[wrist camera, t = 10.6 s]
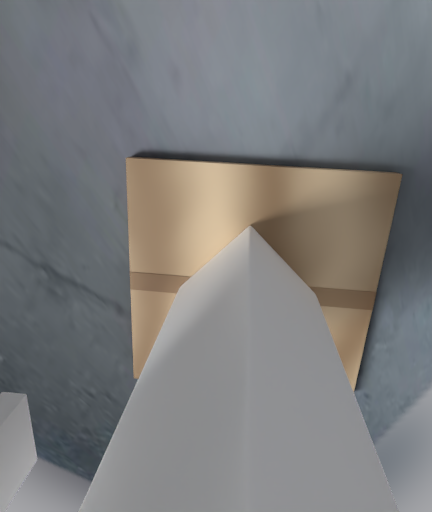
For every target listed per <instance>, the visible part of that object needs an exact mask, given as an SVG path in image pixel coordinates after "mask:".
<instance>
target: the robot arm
mask: <svg viewBox="0 0 432 512" xmlns="http://www.w3.org/2000/svg"><path fill="white" fill-rule="evenodd" d="M36 461H37V454H36V449H35V443H34V437H33V431H32V425H31V419H30V413H29V407H28V402H27V396H26V394H19V393H9V392H2V393H1V394H0V512H5V511H6V510H7V508H8V506H9V505H10V503H11V502H12V500H13V498H14V497H15V495H16V494H17V492H18V490H19V489H20V487H21V485H22V484H23V482H24V481H25V479H26V477H27V476H28V474H29V473H30V471H31V469H32V468H33V466H34V464H35V463H36Z"/></svg>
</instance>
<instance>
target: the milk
mask: <svg viewBox="0 0 432 512" xmlns="http://www.w3.org/2000/svg"><path fill="white" fill-rule="evenodd" d="M79 512H399V510H398V507H397V505H396V502H395V499H394V497H393V494H392V491H391V489H390V486H389V484H388V481H387V478H386V476H385V473H384V471H383V468H382V465H381V463H380V460H379V458H378V455H377V452H376V450H375V447H374V445H373V442H372V439H371V437H370V434H369V431H368V429H367V426H366V424H365V421H364V418H363V416H362V413H361V411H360V408H359V405H358V403H357V400H356V398H355V395H354V392H353V390H352V387H351V385H350V382H349V379H348V377H347V374H346V372H345V369H344V366H343V364H342V361H341V359H340V356H339V353H338V351H337V348H336V346H335V343H334V340H333V338H332V335H331V333H330V330H329V327H328V325H327V322H326V320H325V317H324V314H323V312H322V309H321V307H320V304H319V301H318V299H317V296H316V294H315V293H314V292H313V291H312V290H311V289H310V288H309V287H308V286H307V284H306V283H305V282H304V281H303V280H302V279H301V278H300V277H299V276H298V275H297V274H296V273H295V272H294V271H293V270H292V269H291V268H290V266H289V265H288V264H287V263H286V262H285V261H284V260H283V259H282V258H281V257H280V256H279V255H278V254H277V253H276V252H275V251H274V250H273V248H272V247H271V246H270V245H269V244H268V243H267V242H266V241H265V240H264V239H263V238H262V237H261V236H260V235H259V234H258V233H257V231H256V230H255V229H254V228H253V227H252V226H248V227H247V228H246V229H245V230H244V231H243V232H242V233H240V234H239V235H238V236H237V237H236V238H235V239H234V240H232V241H231V242H230V243H229V244H228V245H227V246H226V247H225V248H223V249H222V250H221V251H220V252H219V253H218V254H217V255H215V256H214V257H213V258H212V259H211V260H210V261H209V262H208V263H206V264H205V265H204V266H203V267H202V268H201V269H200V270H198V271H197V272H196V273H195V274H194V275H193V276H192V277H191V278H189V279H188V280H187V281H186V282H185V283H184V284H183V285H182V286H181V287H180V288H179V290H178V292H177V294H176V297H175V299H174V301H173V303H172V306H171V308H170V310H169V312H168V314H167V317H166V319H165V321H164V323H163V326H162V328H161V330H160V332H159V334H158V337H157V339H156V341H155V343H154V346H153V348H152V350H151V352H150V354H149V357H148V359H147V361H146V363H145V365H144V368H143V370H142V372H141V374H140V377H139V379H138V381H137V383H136V385H135V388H134V390H133V392H132V394H131V397H130V399H129V401H128V403H127V405H126V408H125V410H124V412H123V414H122V416H121V419H120V421H119V423H118V425H117V428H116V430H115V432H114V434H113V436H112V439H111V441H110V443H109V445H108V448H107V450H106V452H105V454H104V456H103V459H102V461H101V463H100V465H99V467H98V470H97V472H96V474H95V476H94V479H93V481H92V483H91V485H90V487H89V490H88V492H87V494H86V496H85V499H84V501H83V503H82V505H81V507H80V510H79Z"/></svg>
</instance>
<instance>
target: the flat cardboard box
mask: <svg viewBox="0 0 432 512" xmlns="http://www.w3.org/2000/svg"><path fill="white" fill-rule="evenodd" d="M126 174H127V202H128V230H129V258H130V289H131V314H132V341H133V369H134V378H137V379H139V377H140V374H141V372H142V370H143V368H144V365H145V363H146V361H147V359H148V357H149V354H150V352H151V350H152V348H153V346H154V343H155V341H156V339H157V337H158V334H159V332H160V330H161V328H162V326H163V323H164V321H165V319H166V317H167V314H168V312H169V310H170V308H171V306H172V303H173V301H174V299H175V297H176V294H177V292H178V290H179V288H180V287H181V286H182V285H183V284H184V283H185V282H186V281H187V280H188V279H189V278H191V277H192V276H193V275H194V274H195V273H196V272H197V271H198V270H200V269H201V268H202V267H203V266H204V265H205V264H206V263H208V262H209V261H210V260H211V259H212V258H213V257H214V256H215V255H217V254H218V253H219V252H220V251H221V250H222V249H223V248H225V247H226V246H227V245H228V244H229V243H230V242H231V241H232V240H234V239H235V238H236V237H237V236H238V235H239V234H240V233H242V232H243V231H244V230H245V229H246V228H247V227H248V226H252V227H253V228H254V229H255V230H256V231H257V233H258V234H259V235H260V236H261V237H262V238H263V239H264V240H265V241H266V242H267V243H268V244H269V245H270V246H271V247H272V248H273V250H274V251H275V252H276V253H277V254H278V255H279V256H280V257H281V258H282V259H283V260H284V261H285V262H286V263H287V264H288V265H289V266H290V268H291V269H292V270H293V271H294V272H295V273H296V274H297V275H298V276H299V277H300V278H301V279H302V280H303V281H304V282H305V283H306V284H307V286H308V287H309V288H310V289H311V290H312V291H313V292H314V293H315V294H316V296H317V299H318V301H319V304H320V307H321V309H322V312H323V314H324V317H325V320H326V322H327V325H328V327H329V330H330V333H331V335H332V338H333V340H334V343H335V346H336V348H337V351H338V353H339V356H340V359H341V361H342V364H343V366H344V369H345V372H346V374H347V377H348V379H349V382H350V385H351V387H352V390H353V392H354V389H355V385H356V380H357V376H358V371H359V367H360V362H361V358H362V353H363V349H364V345H365V340H366V336H367V331H368V327H369V322H370V318H371V313H372V310H373V305H374V301H375V297H376V291H377V286H378V282H379V277H380V273H381V268H382V264H383V259H384V255H385V251H386V246H387V242H388V237H389V233H390V228H391V224H392V219H393V215H394V210H395V206H396V201H397V197H398V192H399V188H400V183H401V179H402V174H400V173H396V172H379V171H362V170H345V169H328V168H312V167H295V166H278V165H261V164H244V163H228V162H211V161H194V160H177V159H160V158H143V157H127V158H126Z"/></svg>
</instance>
